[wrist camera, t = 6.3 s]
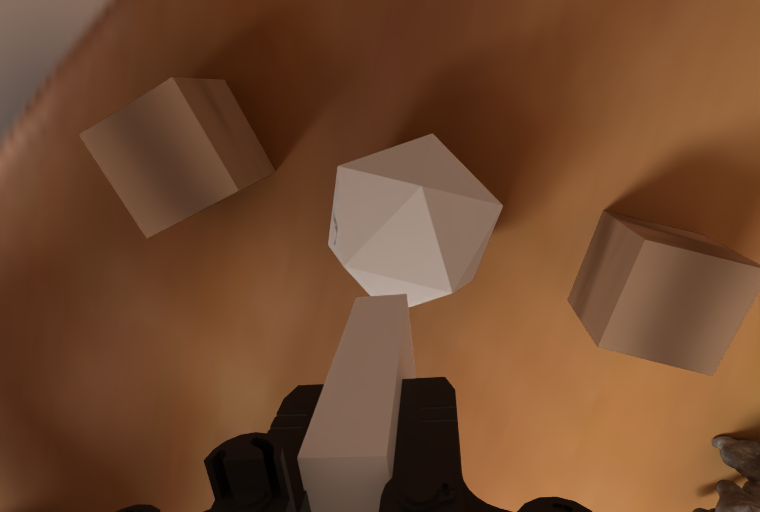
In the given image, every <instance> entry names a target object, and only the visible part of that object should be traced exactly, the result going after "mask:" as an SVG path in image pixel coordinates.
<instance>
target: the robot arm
mask: <svg viewBox="0 0 760 512" xmlns="http://www.w3.org/2000/svg"><path fill="white" fill-rule="evenodd" d="M204 463H205V466H206V470H207V473H208V477H209V480H210V483H211V487H212V490H213V494H214V497H215V501H214V503H213V505H212V507H211V509H209V510H206V511H204V512H511V511H508V510H504V509H500V508H497V507H495V506H492V505H489V504H487V503H485V502H484V501H482V500H481V499H479V498H477V497H476V496H475V495H474V494H473V493H472V492H471V491H470V490H469V489H468V487H467V485H466V484H465V482H464V480H463V476H462V467H461V455H460V442H459V430H458V419H457V407H456V395H455V389H454V388H453V387H452V385H451V384H450V383H449V381H448V380H447V379H446V378H445V377H433V378H416V370H415V361H414V353H413V344H412V335H411V326H410V318H409V309H408V300H407V294H396V295H383V296H369V297H356V300H355V302H354V305H353V308H352V310H351V313H350V316H349V319H348V321H347V324H346V327H345V329H344V332H343V335H342V338H341V340H340V343H339V346H338V348H337V351H336V354H335V357H334V359H333V362H332V365H331V367H330V370H329V373H328V376H327V378H326V381H325V384H319V385H298V386H297V387H296V388H295V389H294V390H293V391H292V392H291V393H290V394H289V395H287V396H286V397H285V398H284V399H283V402H282V404H281V406H280V408H279V410H278V412H277V416H276V417H275V418H274V420H273V422H272V424H271V426H270V430H269V431H268V433H267V434H266V433H257V432H255V433H249V434H243V435H239V436H237V437H234V438H232V439H229V440H227V441H225V442H224V443H222V444H221V445H219V446H218V447H216V448H215V449H214V450H213V451H212V452H211V453H210V454H209V455H208V456H207V457H206V459H205V460H204ZM116 512H161V511H160V510H159V509H157V508H156V507H154V506H152V505H134V506H130V507H127V508H123V509H120V510H118V511H116ZM517 512H592V511H591V510H589V509H587V508H586V507H584V506H582V505H580V504H579V503H577V502H575V501H572V500H568V499H563V498H559V497H540V498H537V499H534V500H532V501H530V502H527V503H525V504H524V505H523V506H522V507H521V508H520V509H519V510H518V511H517Z"/></svg>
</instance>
